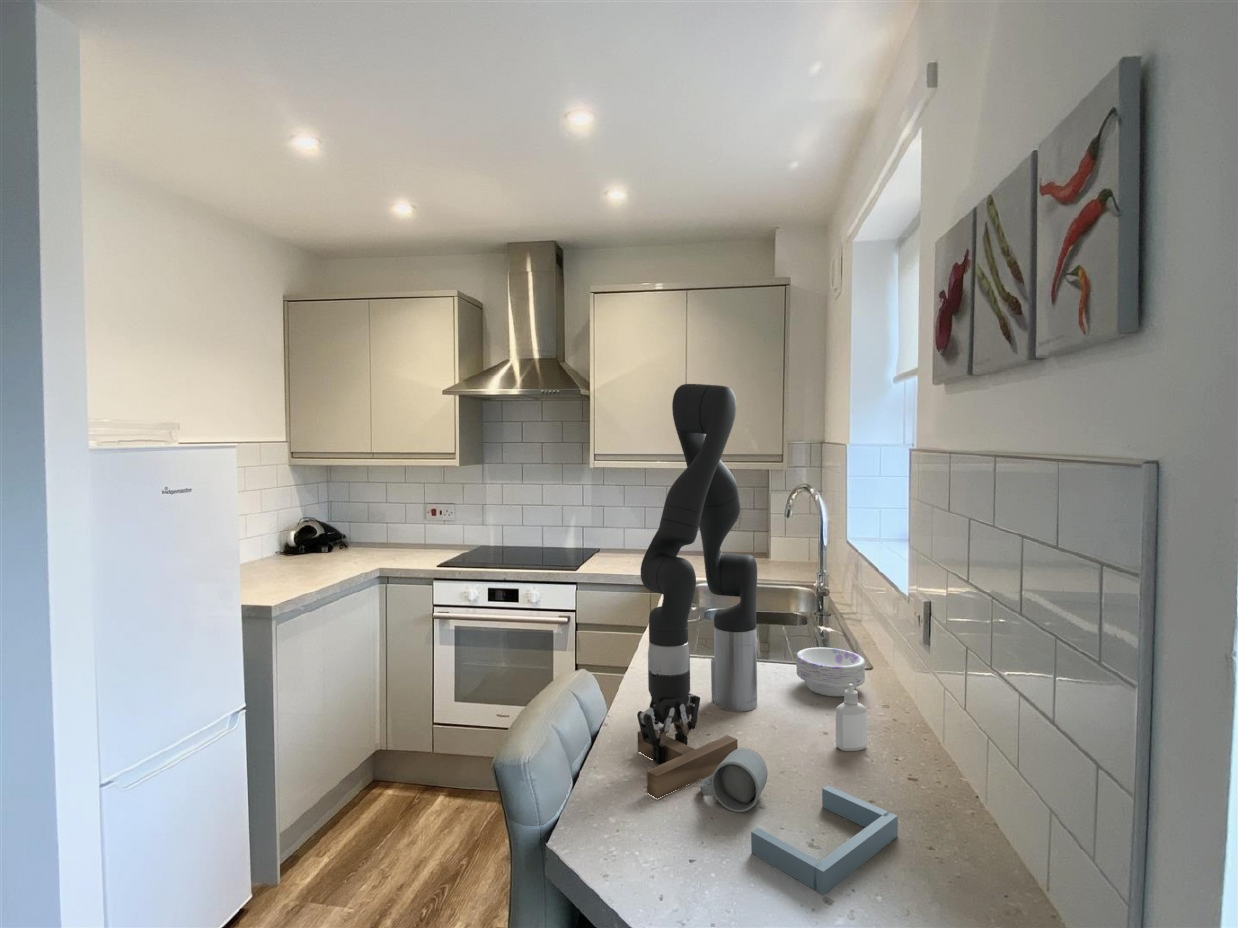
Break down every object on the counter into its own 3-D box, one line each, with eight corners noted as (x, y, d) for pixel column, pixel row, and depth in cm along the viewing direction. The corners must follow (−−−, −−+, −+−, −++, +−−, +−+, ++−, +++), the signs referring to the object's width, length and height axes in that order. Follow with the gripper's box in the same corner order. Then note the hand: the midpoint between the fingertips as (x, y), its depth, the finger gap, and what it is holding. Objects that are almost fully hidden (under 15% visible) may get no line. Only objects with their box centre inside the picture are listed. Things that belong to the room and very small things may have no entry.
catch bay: (751, 852, 92) (751, 831, 92) (827, 803, 104) (827, 785, 104) (823, 894, 83) (823, 871, 83) (897, 835, 95) (897, 815, 95)
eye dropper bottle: (868, 754, 120) (867, 689, 120) (836, 750, 122) (835, 687, 121) (866, 743, 124) (865, 681, 124) (835, 740, 126) (834, 678, 126)
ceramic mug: (770, 791, 108) (769, 745, 108) (758, 817, 100) (757, 767, 100) (708, 780, 112) (707, 735, 112) (693, 803, 105) (691, 756, 105)
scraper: (602, 767, 117) (601, 745, 117) (681, 734, 130) (680, 715, 130) (657, 800, 106) (656, 776, 106) (737, 760, 119) (737, 739, 118)
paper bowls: (872, 685, 154) (871, 652, 154) (855, 707, 142) (855, 670, 142) (808, 673, 163) (807, 642, 163) (787, 693, 150) (787, 659, 150)
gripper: (682, 652, 125) (683, 740, 125) (625, 669, 116) (626, 765, 116) (711, 662, 119) (712, 754, 119) (653, 681, 110) (655, 781, 110)
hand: (670, 759), depth 118 cm, fingers open, 4 cm apart
